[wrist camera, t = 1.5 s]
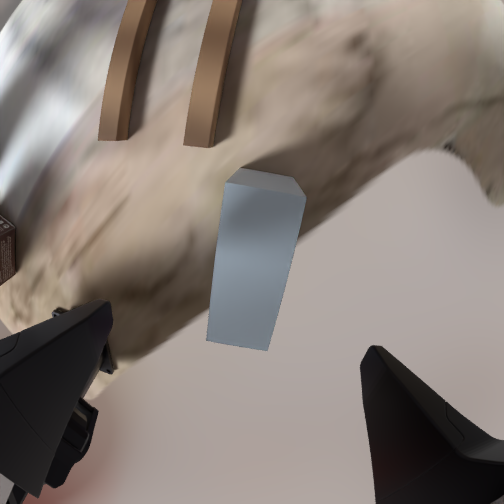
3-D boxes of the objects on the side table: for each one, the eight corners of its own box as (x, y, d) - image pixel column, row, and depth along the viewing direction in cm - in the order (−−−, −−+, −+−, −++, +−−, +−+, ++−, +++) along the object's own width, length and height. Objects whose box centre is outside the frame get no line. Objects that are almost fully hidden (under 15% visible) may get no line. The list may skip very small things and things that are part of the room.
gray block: (268, 291, 19) (267, 351, 14) (222, 283, 19) (206, 340, 14) (293, 177, 16) (306, 197, 10) (240, 167, 16) (225, 182, 10)
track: (212, 147, 15) (196, 149, 12) (109, 139, 15) (73, 143, 12) (250, -28, 10) (245, -61, 6) (149, -24, 10) (127, -48, 6)
